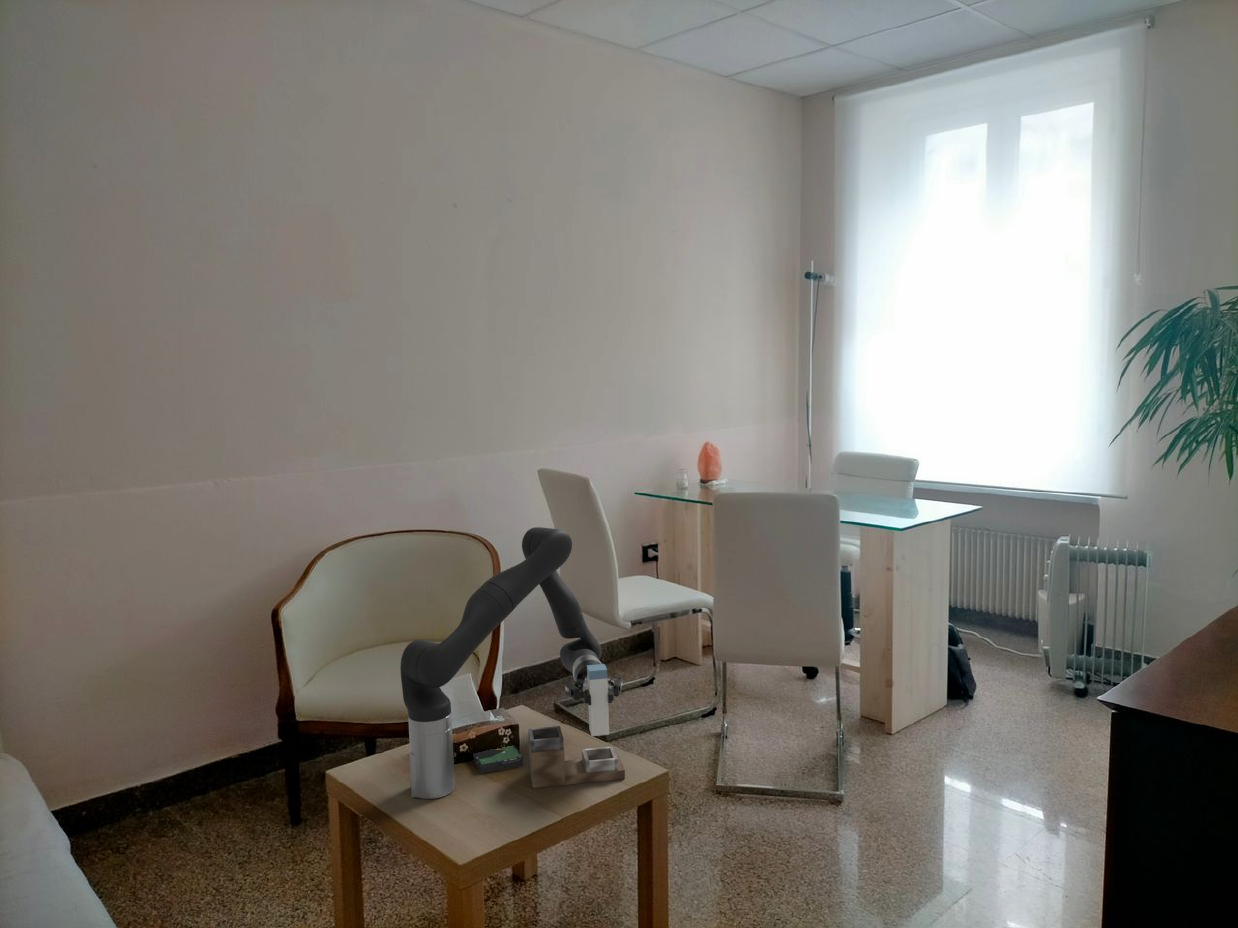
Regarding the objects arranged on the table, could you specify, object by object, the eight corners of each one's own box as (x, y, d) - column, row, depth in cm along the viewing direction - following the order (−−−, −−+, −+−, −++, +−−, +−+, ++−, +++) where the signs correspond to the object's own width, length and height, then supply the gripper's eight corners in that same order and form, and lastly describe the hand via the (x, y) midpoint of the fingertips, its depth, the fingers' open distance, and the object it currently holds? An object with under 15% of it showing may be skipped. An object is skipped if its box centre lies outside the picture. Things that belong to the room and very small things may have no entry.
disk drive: (465, 752, 226) (481, 775, 213) (464, 741, 226) (480, 764, 213) (506, 744, 230) (524, 766, 217) (505, 733, 230) (524, 755, 217)
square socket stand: (532, 787, 205) (530, 741, 204) (529, 772, 213) (528, 727, 212) (625, 778, 208) (623, 733, 207) (619, 763, 216) (617, 719, 215)
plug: (591, 736, 208) (589, 671, 207) (589, 729, 212) (586, 665, 210) (609, 734, 209) (607, 669, 207) (606, 727, 213) (604, 663, 211)
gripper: (559, 661, 222) (567, 686, 205) (618, 656, 224) (631, 680, 208) (560, 692, 223) (568, 719, 206) (619, 686, 225) (632, 713, 208)
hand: (599, 699), depth 207 cm, fingers closed on plug, 4 cm apart
